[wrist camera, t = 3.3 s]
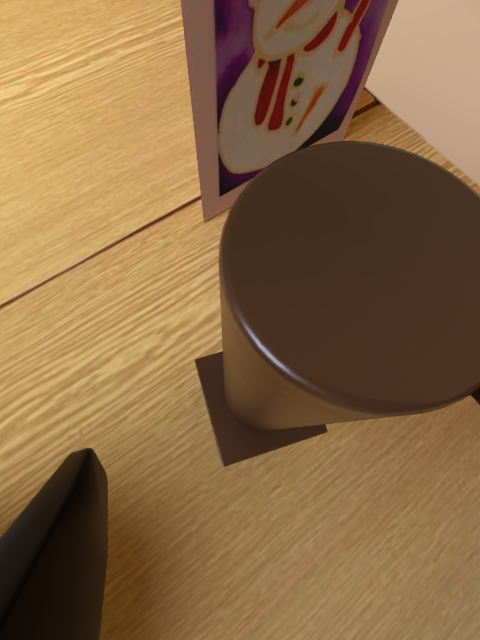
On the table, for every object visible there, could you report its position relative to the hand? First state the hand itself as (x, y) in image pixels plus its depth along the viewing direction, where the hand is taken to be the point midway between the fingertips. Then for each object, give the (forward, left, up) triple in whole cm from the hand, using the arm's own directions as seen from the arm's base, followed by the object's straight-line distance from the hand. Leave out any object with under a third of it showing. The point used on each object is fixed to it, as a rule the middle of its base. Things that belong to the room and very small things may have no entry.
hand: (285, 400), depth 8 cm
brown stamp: (+1, 0, -8) cm, 8 cm away
